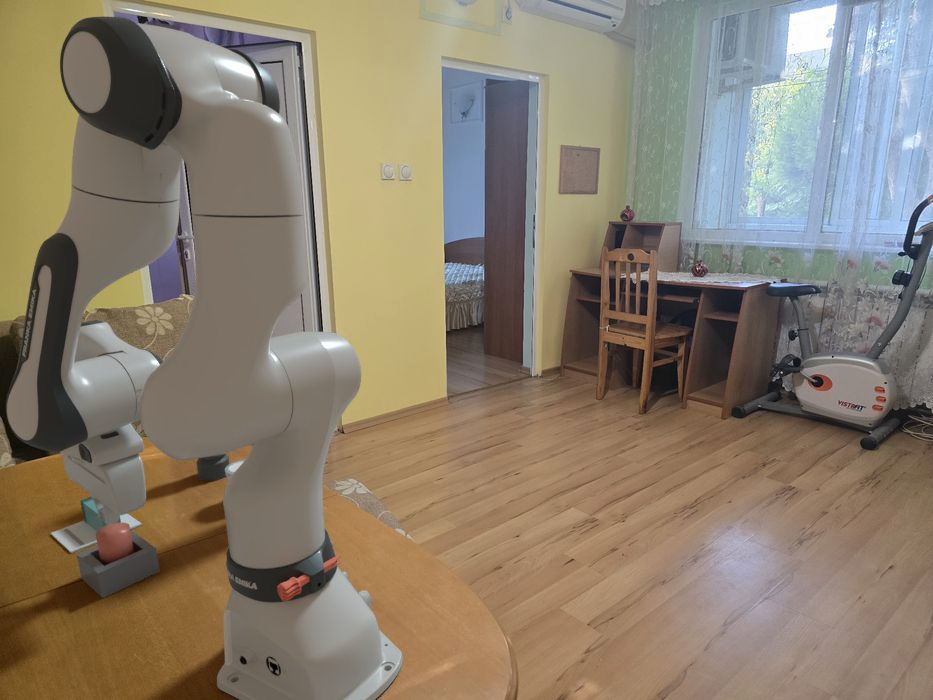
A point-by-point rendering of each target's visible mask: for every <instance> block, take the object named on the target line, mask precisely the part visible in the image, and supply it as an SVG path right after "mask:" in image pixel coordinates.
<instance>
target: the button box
mask: <svg viewBox="0 0 933 700" xmlns="http://www.w3.org/2000/svg"><path fill="white" fill-rule="evenodd" d="M131 537H132V543H133V549H134V553H133V554H131V555H129V556H126V557H124V558H122V559H119V560H117V561H115V562H112V563H110V564H108V565H105V566H104V565H103V564H101V561H100V556H99V550H98V545H95V546H93V547H91V548H88V549H86V550H83V551H81V552H79V553H76V556H77V557H76V558H77V562H78V567H79V573H80V578H81V579H82V580H83V581H84V582H85V583H86V584H87V585H88V586H89V587H90V588H91V589H92V590H93V589H94V590H95V591H94V592H95V593H96V594H98V595H99V596H100V598H101V599H104V598H107V597H108V595H109V596H111V595H113V594H115V593H117V592H119V591H121V590H123V589H125V588H128V587H129V586H132V585H134V584H136V582H137V583H139V582H140V581H143V580H145V579H147V578H149V577H152V576H153V575H156V574H158V573H160V565H159V559H158V554H157V547H155V546H153V545H152V544H151V543H149V542H148V541H147V540H146V539H144V538H143V537H141V536H140V535H139V534H137V533H136V532H135V531H131ZM151 575H152V576H151ZM144 578H145V579H144ZM112 593H113V594H112ZM106 596H107V597H106Z"/></svg>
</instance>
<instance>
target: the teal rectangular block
mask: <svg viewBox="0 0 933 700" xmlns="http://www.w3.org/2000/svg"><path fill="white" fill-rule="evenodd" d="M80 506H81V511H82V517H83V521H85V522H86V523H87V524H88V525H90V526H91V527H92V528H93V529H95V530H96V531H98V530H99V529H101V528H102V527H105V526H107V524H106V523H105V522H104V521H103V520H101V519H100V518H99V517H98V512H97V508H96V506H95V504H94V502H93V500H92V497H91V496H90V497H89V496H88V497H87V498H84V499H81V500H80ZM116 523H121V520H120V515H119V520H118V521H117V522H116ZM113 524H114V523H113Z"/></svg>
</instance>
